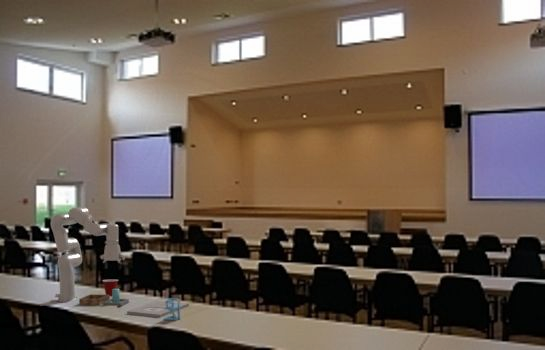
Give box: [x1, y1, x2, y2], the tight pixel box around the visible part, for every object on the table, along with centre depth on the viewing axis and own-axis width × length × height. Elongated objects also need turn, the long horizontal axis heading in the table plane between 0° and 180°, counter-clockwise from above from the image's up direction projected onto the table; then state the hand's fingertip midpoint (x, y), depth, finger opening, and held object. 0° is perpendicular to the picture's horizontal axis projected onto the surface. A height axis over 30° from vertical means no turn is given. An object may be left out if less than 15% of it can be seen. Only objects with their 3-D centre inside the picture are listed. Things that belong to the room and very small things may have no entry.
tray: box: [102, 298, 130, 308], centre depth 345 cm, size 12×12×2 cm
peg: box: [111, 288, 121, 303], centre depth 345 cm, size 4×4×9 cm
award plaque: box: [126, 300, 190, 318], centre depth 328 cm, size 25×30×2 cm
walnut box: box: [79, 293, 111, 306], centre depth 347 cm, size 14×14×5 cm
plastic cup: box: [102, 278, 119, 297], centre depth 370 cm, size 11×11×12 cm
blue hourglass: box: [163, 297, 181, 321], centre depth 304 cm, size 8×8×12 cm
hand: (112, 268), depth 347 cm, fingers open, 9 cm apart
